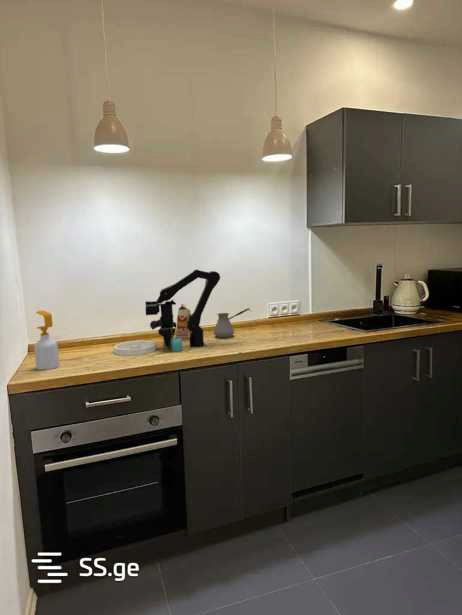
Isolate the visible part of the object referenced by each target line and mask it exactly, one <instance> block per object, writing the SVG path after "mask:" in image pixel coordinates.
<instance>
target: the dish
mask: <svg viewBox="0 0 462 615" xmlns="http://www.w3.org/2000/svg"><path fill="white" fill-rule="evenodd" d="M157 349H158V345H157V342H155V341H154V340H131V341H125V342H121V343H117V344H115V345H114V346H113V353H114V354H115V355H117V356H124V357H131V356H132V357H133V356H134V357H135V356H141V355H148V354H150V353H154V352H156V351H157Z"/></svg>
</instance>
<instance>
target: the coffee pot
mask: <svg viewBox="0 0 462 615" xmlns="http://www.w3.org/2000/svg"><path fill="white" fill-rule="evenodd" d="M247 311H249V312H251V309H250V308H249V307H248V308H245V309H244V310H242V311H240V312H237V313H236V314H233V315H232V316H230V317H229V315H230V313H228V312H221V313H217V316H218V319H217V321H216V323H215V324H216V325H215V327H214V330H213V334H214V336H216V337H217V338H219V339H229V338H231V337H232V336H233V335H234V334H235V330H234V327H233V325H232V324H231V321H230V320H231V319H233V318H235V317H237V316H239V315H242V314H244V313H245V312H247Z"/></svg>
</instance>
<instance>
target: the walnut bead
mask: <svg viewBox="0 0 462 615" xmlns="http://www.w3.org/2000/svg"><path fill="white" fill-rule="evenodd" d="M162 338H163V337H162ZM172 338H174V336H173V335H172V337H171V339H172ZM163 349H164V350H172V345H171V341H170V344H169V347H167V346H166V343H165V340H164V338H163Z"/></svg>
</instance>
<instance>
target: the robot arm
mask: <svg viewBox="0 0 462 615" xmlns="http://www.w3.org/2000/svg"><path fill="white" fill-rule="evenodd" d="M198 278H199V279H203V280H205V283H204V287H203V290H202V293H201V294H200V296H199V300H198V301H197V304H196V306H195V308H194V311H193V312H192V313H191V315H190V314H189V315H188V319H187V320H186V326H187V328H188V330H189V331H191V332H192V333H191V334H190V337H189V339H190V341H189V346H190V347H192V348H196V347H204V345H205V342H204V339H205V338H204V329H203V328H202V327H201V326H200V324H201V318H202V315H203V312H204V309H205V308H206V306H207V303H208V300H209V298H210V296H211V294H212V291H213V290H214V288H216V286H217V285H218V283H219V282H220V280H221V275H220V273H219V272H218V271H214V270H213V271H212V270H211V271H209V272H207V271H203V270H199V269H194V270H193V271H192V272H190V273H189V274H187V275H186V276H184V277H183V278H181V279H179V280H178V281H177V282H175V283H174V284H171V285H169V286H166V287H164V288H162V289H161V290H160V291H159V296H158V298H157V299H156V301H155V300H153V301H148V300H147V301H145V316H157V315H158V314H159V313H160V317H159V319H157V320H151V322H150V323H149V325H150V326H149V327H150V328H151V330H152V331H153V330H155V329H157V328H159V329H158V335H159V336H161V337H162V338H164V340H165V343H166V346H167V347H169V344H170V341H171V337H172V335H173V337H175V336H174V335H175V334H176V329H177V322H175V321H174V317H175V316H174V312H173V306H174V305H175V306H176V305H177V303H176V302H175V300H174V299H172V298H173V297H174V296H175V295H176V294H177V293H178V292H179V291H180V290H182V289H183V288H185V287H186V286H187V285H189V284H191V283H193V282H194V281H195V280H198Z"/></svg>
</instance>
